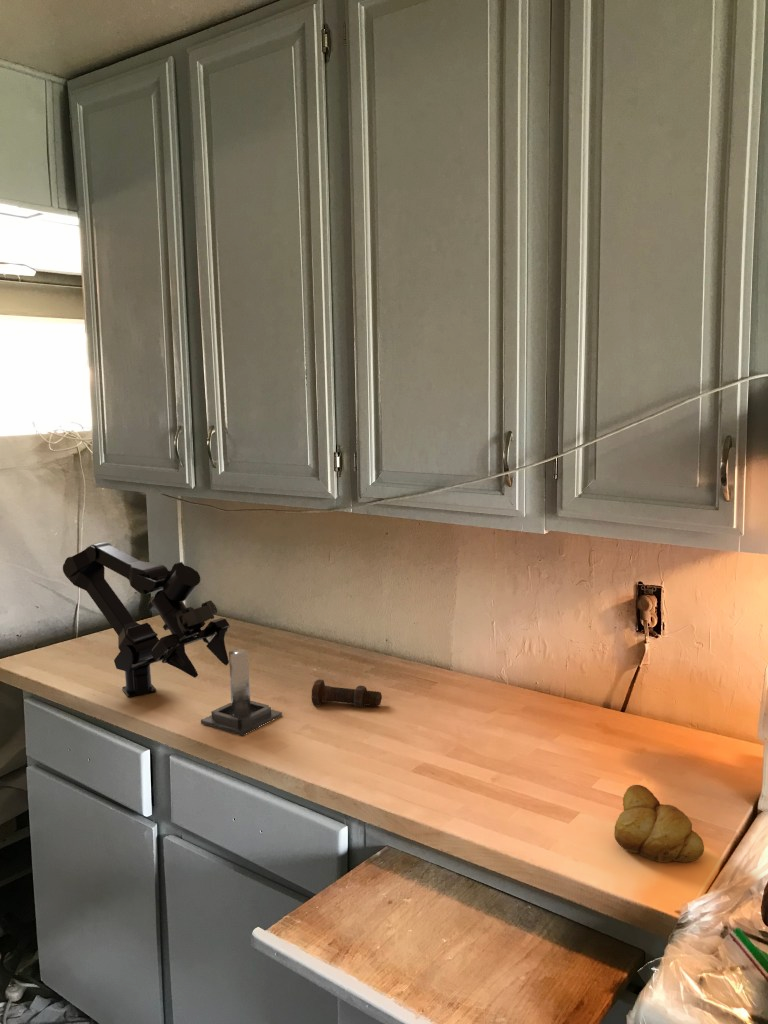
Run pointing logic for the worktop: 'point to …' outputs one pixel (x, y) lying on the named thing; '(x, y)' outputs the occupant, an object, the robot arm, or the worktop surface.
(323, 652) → the worktop surface
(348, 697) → the bolt
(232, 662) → the shiny tapered metal piece
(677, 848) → the bread roll
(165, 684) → the worktop surface
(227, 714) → the block
